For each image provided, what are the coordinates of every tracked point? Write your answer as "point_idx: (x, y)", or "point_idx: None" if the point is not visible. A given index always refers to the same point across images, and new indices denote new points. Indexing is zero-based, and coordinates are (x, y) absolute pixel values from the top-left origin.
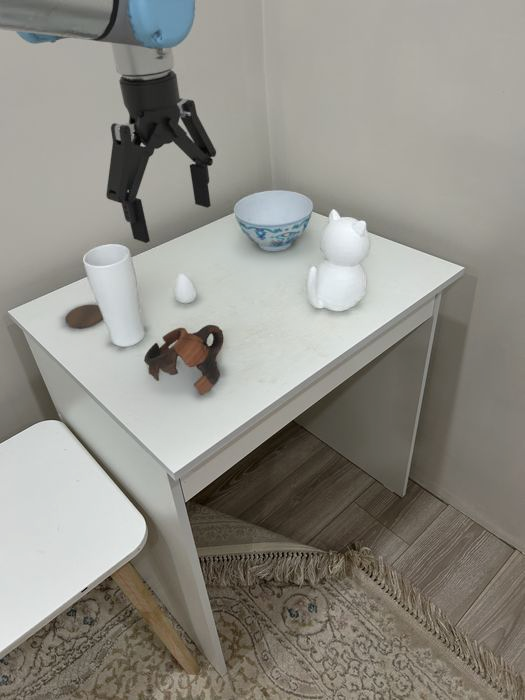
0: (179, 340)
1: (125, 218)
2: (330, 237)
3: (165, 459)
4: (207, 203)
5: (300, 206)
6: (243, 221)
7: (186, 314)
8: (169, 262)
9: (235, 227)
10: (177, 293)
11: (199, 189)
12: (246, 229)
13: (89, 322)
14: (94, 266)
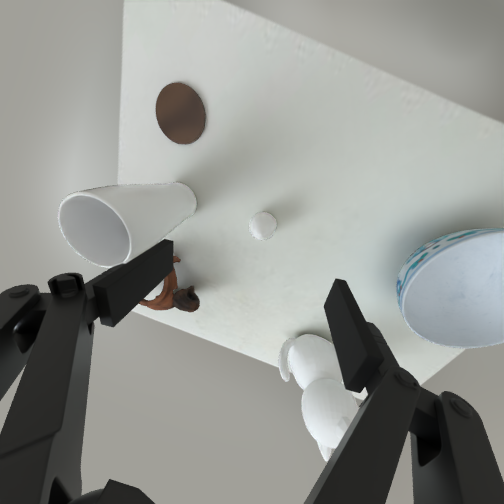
0: (144, 304)
1: (113, 267)
2: (310, 418)
3: None
4: (326, 312)
5: None
6: (416, 270)
7: (241, 234)
8: (349, 139)
9: (498, 183)
10: (249, 224)
11: (337, 319)
12: (410, 265)
13: (172, 135)
14: (64, 237)
